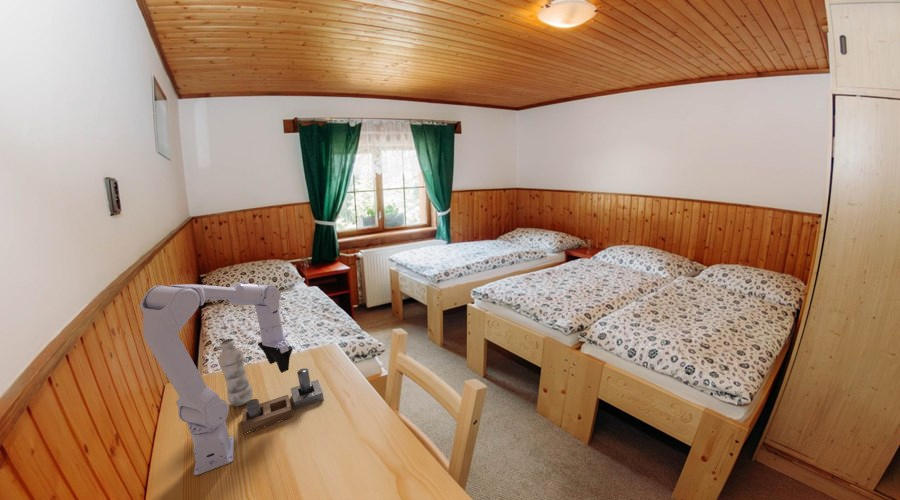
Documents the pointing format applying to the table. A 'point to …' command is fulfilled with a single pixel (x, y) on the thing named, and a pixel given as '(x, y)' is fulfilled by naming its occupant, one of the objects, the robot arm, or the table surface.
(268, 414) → the rack
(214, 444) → the robot arm
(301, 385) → the shiny steel cylinder
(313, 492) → the table surface
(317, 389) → the socket block
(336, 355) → the table surface
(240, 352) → the plastic bottle
